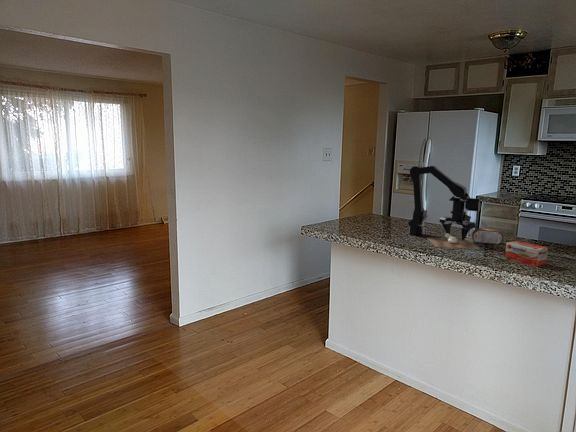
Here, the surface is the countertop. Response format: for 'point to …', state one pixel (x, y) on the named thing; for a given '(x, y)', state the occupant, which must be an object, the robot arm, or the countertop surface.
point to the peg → (450, 238)
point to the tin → (487, 236)
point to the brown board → (444, 243)
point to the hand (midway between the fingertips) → (455, 238)
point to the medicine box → (526, 253)
